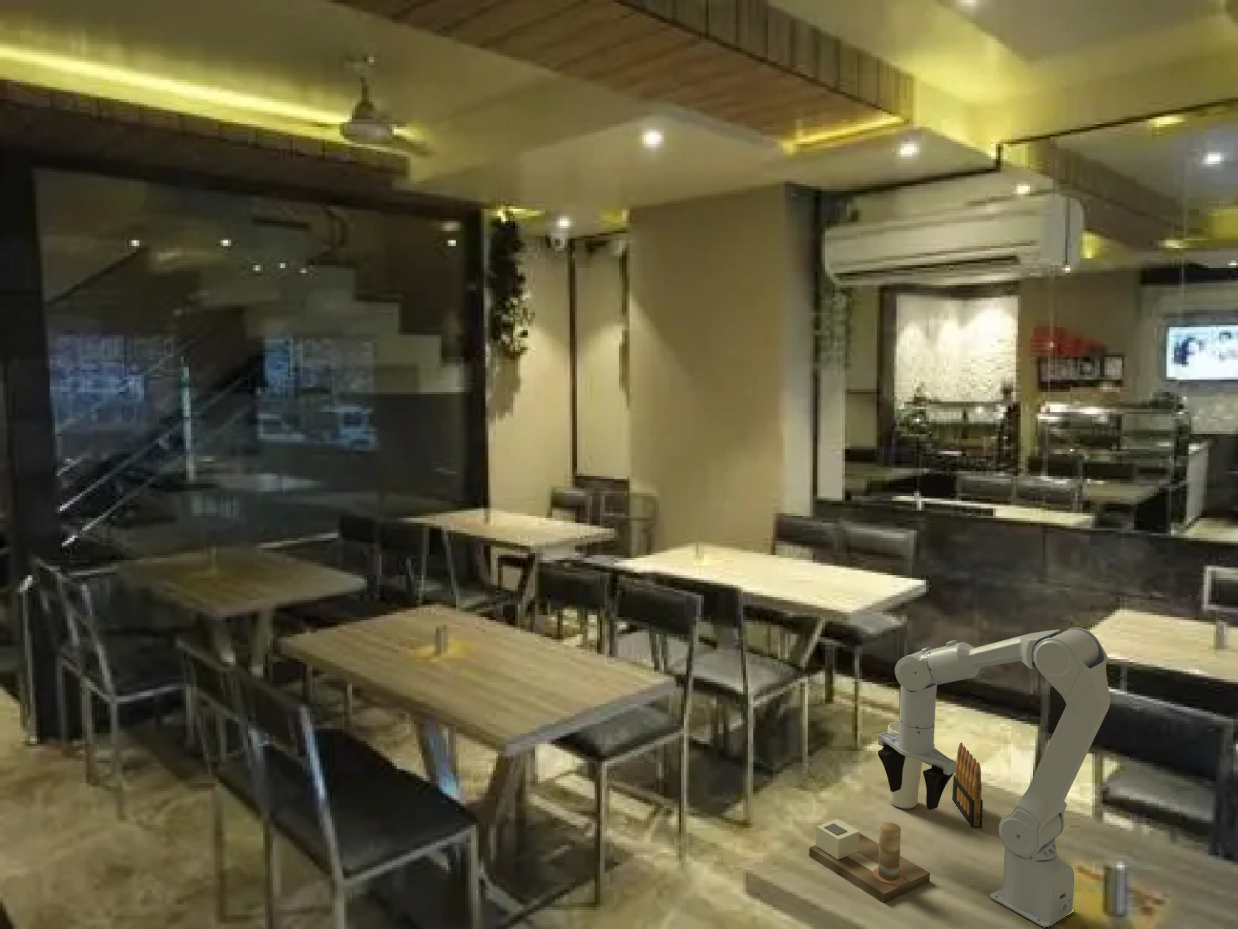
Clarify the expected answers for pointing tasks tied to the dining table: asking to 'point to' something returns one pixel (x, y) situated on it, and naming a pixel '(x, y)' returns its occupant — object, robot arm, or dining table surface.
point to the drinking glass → (906, 779)
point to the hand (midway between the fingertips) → (913, 799)
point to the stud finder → (837, 838)
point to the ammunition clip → (968, 787)
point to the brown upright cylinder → (889, 851)
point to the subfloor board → (872, 870)
